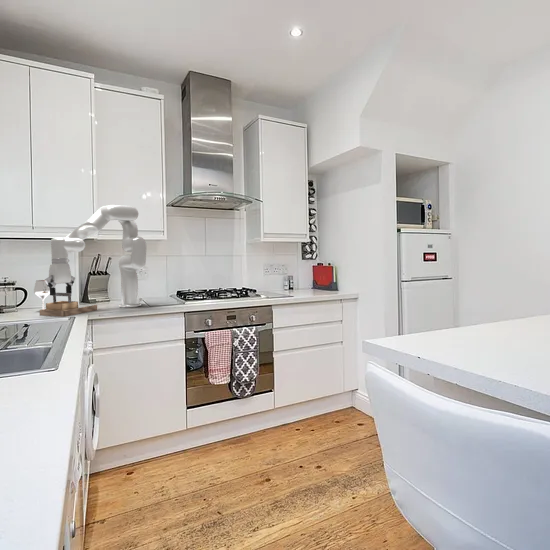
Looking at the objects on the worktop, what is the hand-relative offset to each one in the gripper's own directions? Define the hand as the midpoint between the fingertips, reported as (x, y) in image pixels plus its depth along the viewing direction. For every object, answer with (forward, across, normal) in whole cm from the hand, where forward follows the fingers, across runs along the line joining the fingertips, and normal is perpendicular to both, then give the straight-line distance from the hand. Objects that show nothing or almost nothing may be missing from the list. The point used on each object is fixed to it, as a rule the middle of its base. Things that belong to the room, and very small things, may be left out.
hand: (61, 294), depth 195 cm
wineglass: (+12, -6, -20) cm, 24 cm away
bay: (+11, -5, 0) cm, 12 cm away
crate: (+10, 0, 0) cm, 10 cm away
